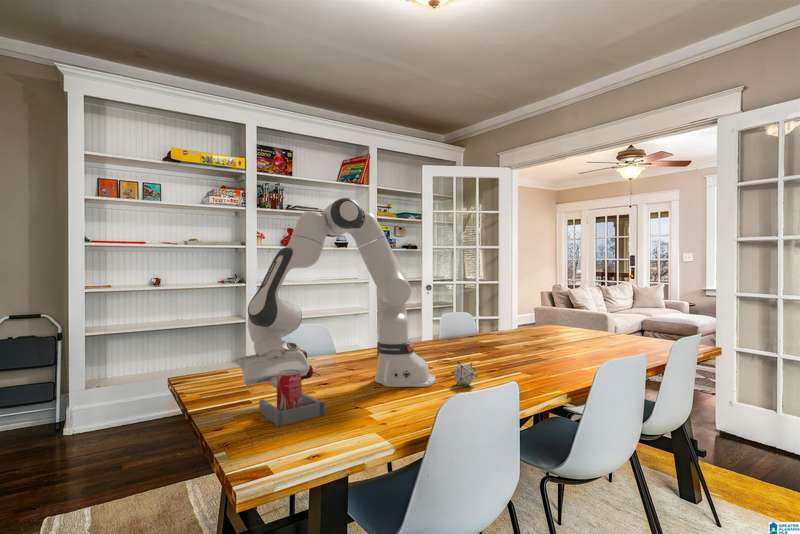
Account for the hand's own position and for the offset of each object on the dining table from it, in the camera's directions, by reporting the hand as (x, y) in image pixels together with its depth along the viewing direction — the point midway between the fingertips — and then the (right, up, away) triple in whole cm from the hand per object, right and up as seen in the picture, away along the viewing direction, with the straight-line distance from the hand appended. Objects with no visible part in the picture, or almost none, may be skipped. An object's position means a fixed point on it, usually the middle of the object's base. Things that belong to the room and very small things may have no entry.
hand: (283, 391), depth 129 cm
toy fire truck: (-4, -5, +39) cm, 39 cm away
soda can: (+3, -6, -3) cm, 7 cm away
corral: (+3, -5, -3) cm, 7 cm away
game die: (+58, -5, +24) cm, 63 cm away
